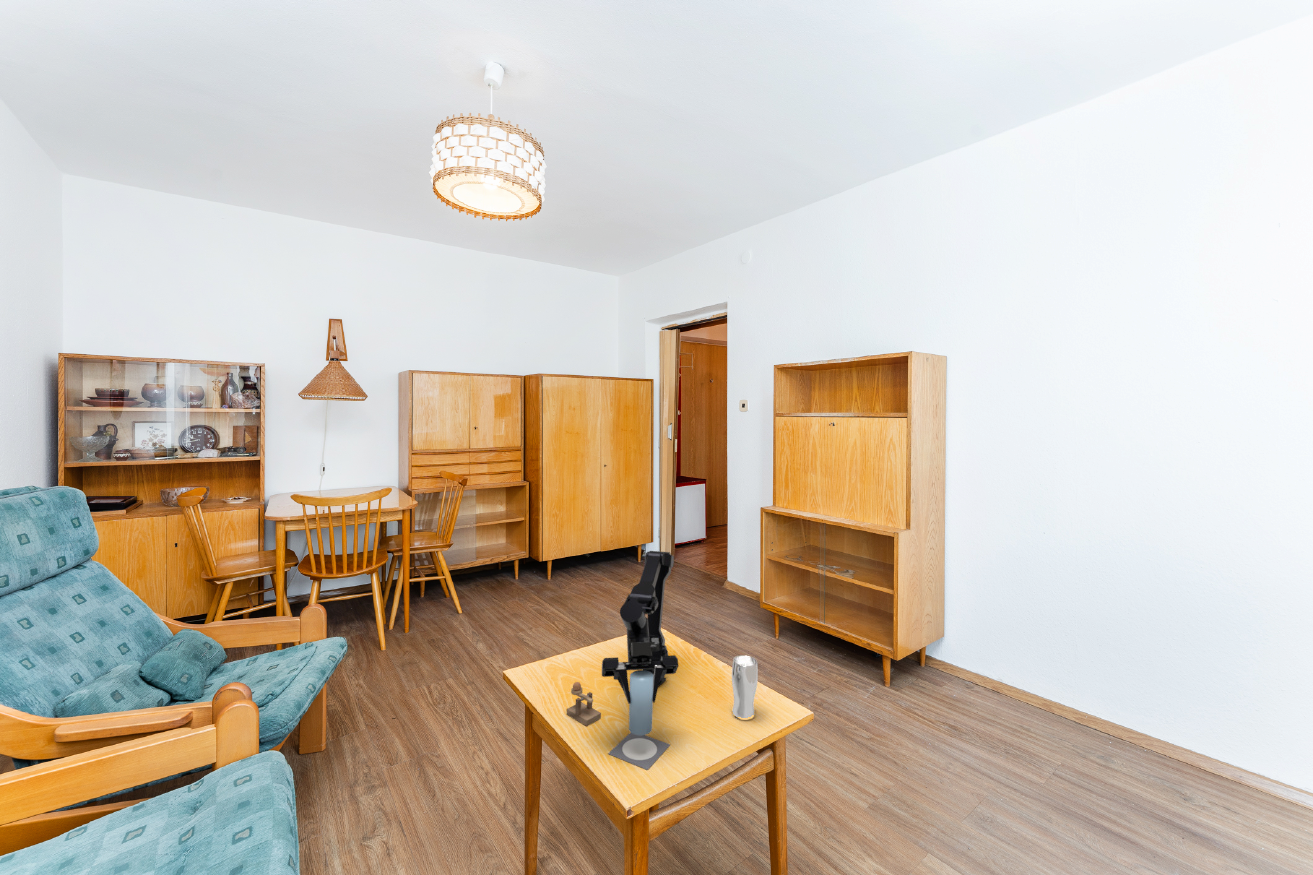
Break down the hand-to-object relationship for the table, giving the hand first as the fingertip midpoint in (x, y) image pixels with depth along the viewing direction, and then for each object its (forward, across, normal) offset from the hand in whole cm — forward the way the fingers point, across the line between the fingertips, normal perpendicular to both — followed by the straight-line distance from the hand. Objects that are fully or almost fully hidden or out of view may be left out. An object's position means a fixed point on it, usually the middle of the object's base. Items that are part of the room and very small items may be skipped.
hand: (641, 702), depth 127 cm
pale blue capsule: (+4, 0, +6) cm, 7 cm away
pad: (+8, 0, +10) cm, 12 cm away
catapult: (-3, -13, +20) cm, 25 cm away
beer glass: (-1, +30, +18) cm, 35 cm away
